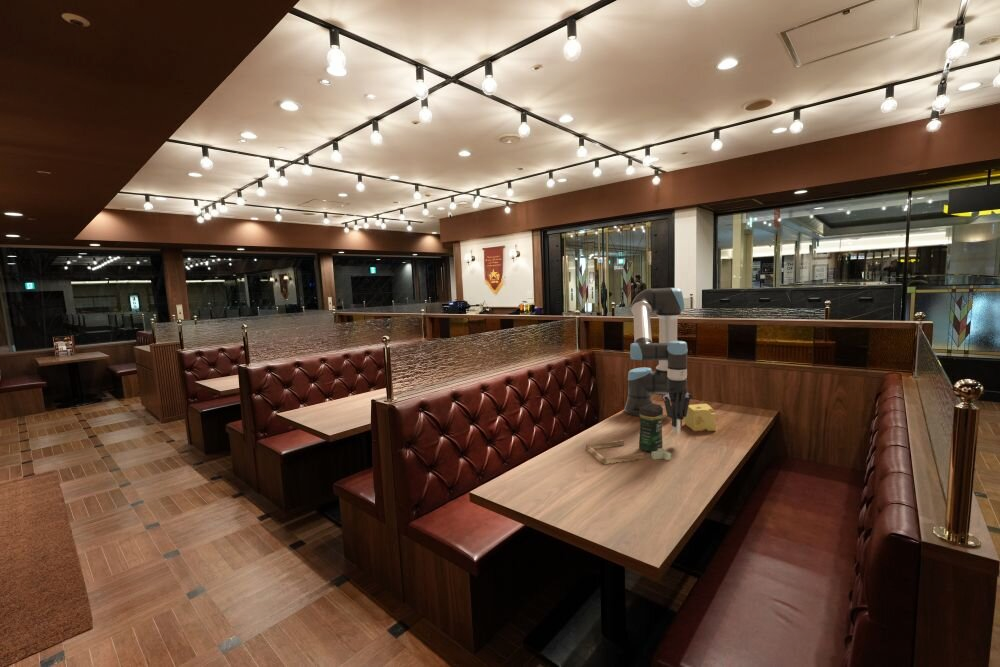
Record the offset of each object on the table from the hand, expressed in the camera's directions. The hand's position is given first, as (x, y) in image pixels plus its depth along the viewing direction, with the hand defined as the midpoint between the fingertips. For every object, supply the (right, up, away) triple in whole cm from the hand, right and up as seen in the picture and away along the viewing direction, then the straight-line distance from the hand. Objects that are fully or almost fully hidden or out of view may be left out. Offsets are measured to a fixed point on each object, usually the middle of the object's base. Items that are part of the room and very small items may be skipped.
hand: (676, 433), depth 181 cm
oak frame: (-28, -7, -6) cm, 29 cm away
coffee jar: (-11, -6, -2) cm, 13 cm away
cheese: (+19, -2, +21) cm, 28 cm away
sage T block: (-11, -7, -11) cm, 17 cm away
